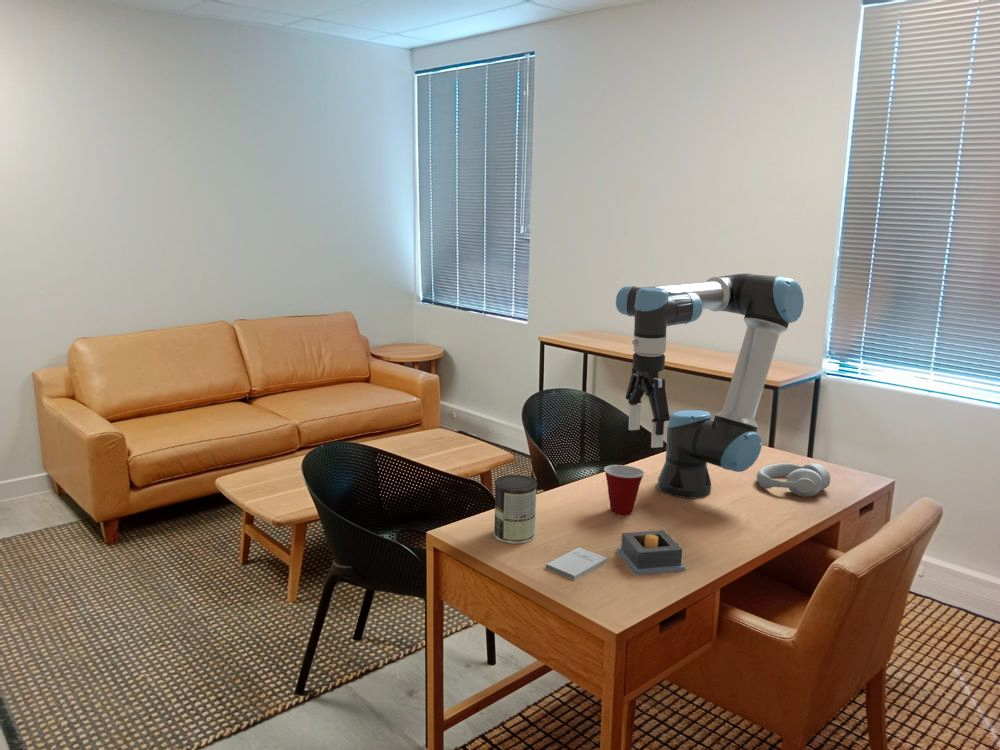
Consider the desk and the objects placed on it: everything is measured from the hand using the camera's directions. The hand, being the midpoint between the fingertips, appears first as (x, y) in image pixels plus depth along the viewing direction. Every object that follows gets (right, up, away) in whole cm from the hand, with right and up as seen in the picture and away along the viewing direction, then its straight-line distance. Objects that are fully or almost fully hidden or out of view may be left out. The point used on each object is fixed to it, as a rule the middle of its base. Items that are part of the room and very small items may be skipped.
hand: (645, 438), depth 191 cm
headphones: (+51, -18, +40) cm, 67 cm away
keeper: (-1, -28, -9) cm, 29 cm away
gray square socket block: (-1, -27, -9) cm, 28 cm away
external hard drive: (-18, -29, -12) cm, 36 cm away
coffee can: (-32, -25, +3) cm, 40 cm away
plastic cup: (-3, -21, +19) cm, 29 cm away
